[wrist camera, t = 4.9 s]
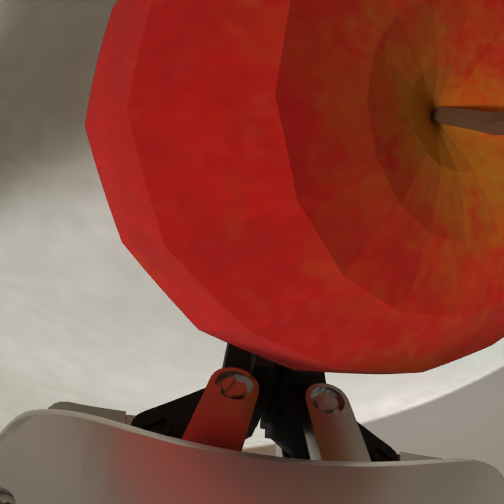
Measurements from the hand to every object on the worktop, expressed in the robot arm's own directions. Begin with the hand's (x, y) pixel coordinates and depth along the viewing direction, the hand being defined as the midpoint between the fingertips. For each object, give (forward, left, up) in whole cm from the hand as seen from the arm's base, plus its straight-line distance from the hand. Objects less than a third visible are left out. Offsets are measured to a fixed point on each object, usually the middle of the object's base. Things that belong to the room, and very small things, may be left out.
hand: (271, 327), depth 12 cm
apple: (+8, 0, -3) cm, 8 cm away
